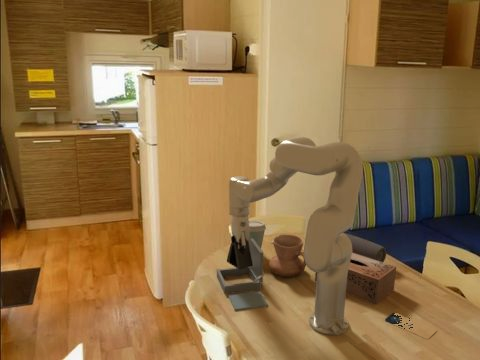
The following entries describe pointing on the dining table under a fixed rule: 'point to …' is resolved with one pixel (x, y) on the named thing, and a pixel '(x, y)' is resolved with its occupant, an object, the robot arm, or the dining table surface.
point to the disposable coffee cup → (257, 232)
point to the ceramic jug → (287, 256)
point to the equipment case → (245, 272)
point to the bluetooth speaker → (367, 248)
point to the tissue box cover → (369, 278)
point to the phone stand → (239, 255)
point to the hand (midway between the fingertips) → (239, 255)
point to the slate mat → (247, 300)
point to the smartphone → (395, 320)
